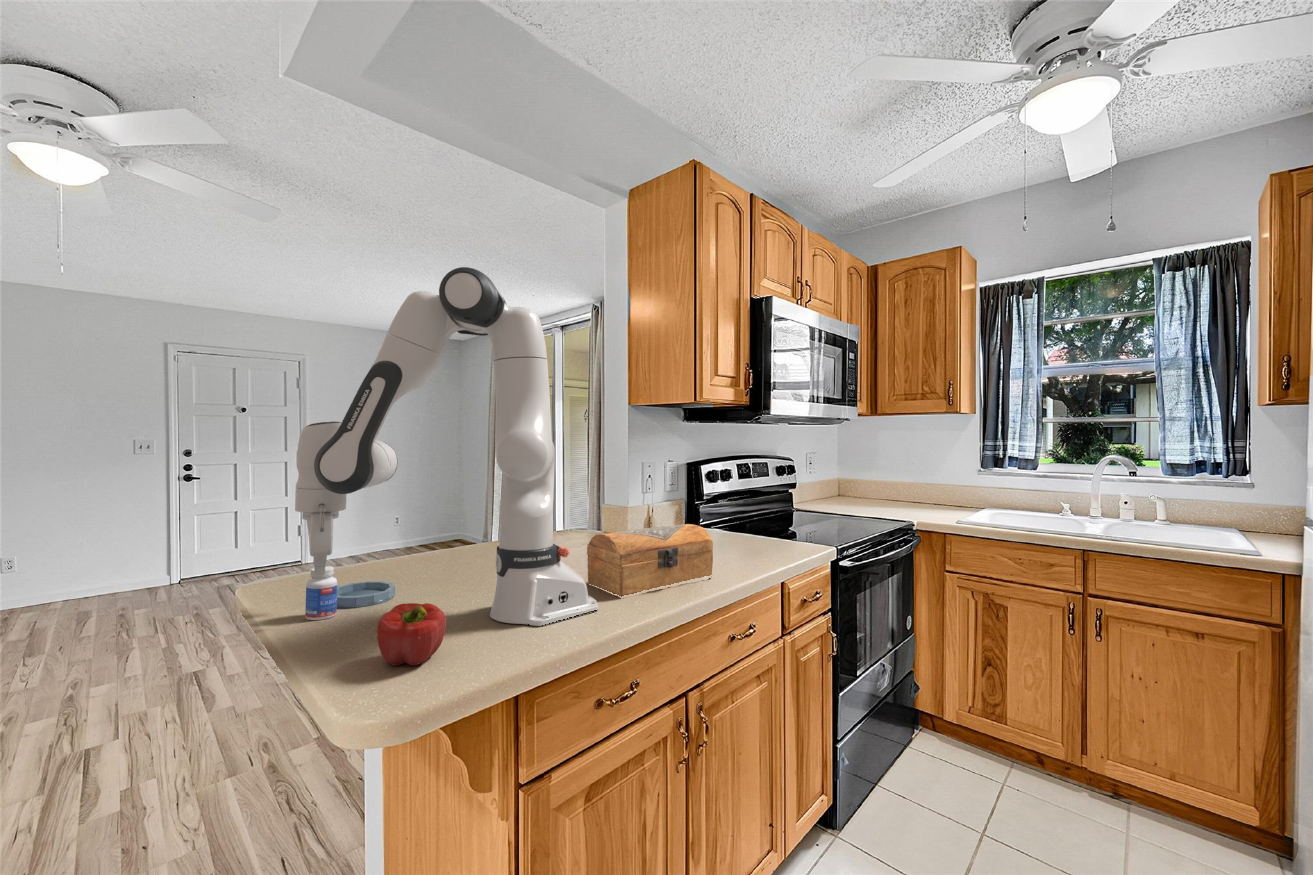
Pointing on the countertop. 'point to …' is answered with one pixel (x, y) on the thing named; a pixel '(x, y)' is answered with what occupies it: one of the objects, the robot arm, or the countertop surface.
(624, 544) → the wooden box
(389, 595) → the dish
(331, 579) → the pill bottle
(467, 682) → the countertop surface
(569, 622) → the countertop surface
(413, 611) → the vegetable
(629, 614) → the countertop surface
